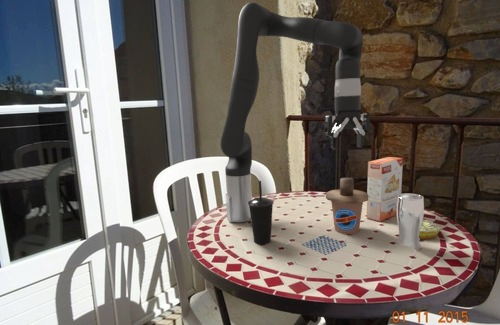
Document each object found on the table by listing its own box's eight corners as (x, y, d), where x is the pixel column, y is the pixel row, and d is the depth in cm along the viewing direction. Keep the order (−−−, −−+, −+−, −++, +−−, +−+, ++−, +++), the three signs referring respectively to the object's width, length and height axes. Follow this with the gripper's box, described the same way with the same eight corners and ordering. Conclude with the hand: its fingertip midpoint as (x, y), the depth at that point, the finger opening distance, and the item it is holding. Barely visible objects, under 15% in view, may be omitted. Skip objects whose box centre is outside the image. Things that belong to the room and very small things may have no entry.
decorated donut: (445, 234, 105) (446, 222, 105) (429, 244, 99) (430, 231, 98) (411, 225, 113) (412, 214, 113) (395, 234, 107) (396, 222, 106)
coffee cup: (327, 237, 106) (327, 201, 104) (332, 226, 115) (332, 192, 113) (362, 241, 102) (362, 203, 100) (364, 229, 111) (365, 194, 109)
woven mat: (298, 250, 99) (298, 243, 99) (322, 240, 105) (322, 234, 105) (326, 262, 91) (326, 255, 91) (350, 251, 97) (350, 244, 97)
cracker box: (381, 222, 117) (382, 163, 113) (365, 218, 121) (366, 161, 118) (401, 213, 125) (403, 157, 121) (386, 209, 130) (387, 156, 126)
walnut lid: (338, 205, 99) (338, 185, 98) (318, 194, 111) (318, 177, 110) (377, 200, 102) (377, 181, 101) (353, 190, 115) (353, 173, 113)
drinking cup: (257, 252, 98) (254, 185, 94) (245, 243, 105) (242, 180, 101) (279, 246, 101) (277, 181, 98) (267, 238, 108) (264, 177, 104)
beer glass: (425, 252, 93) (427, 200, 90) (398, 251, 94) (400, 199, 92) (418, 242, 99) (420, 193, 97) (393, 241, 101) (394, 193, 98)
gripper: (361, 94, 106) (360, 145, 109) (320, 96, 103) (320, 148, 106) (376, 93, 99) (374, 148, 102) (331, 95, 96) (332, 151, 98)
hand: (347, 148), depth 104 cm, fingers open, 8 cm apart
